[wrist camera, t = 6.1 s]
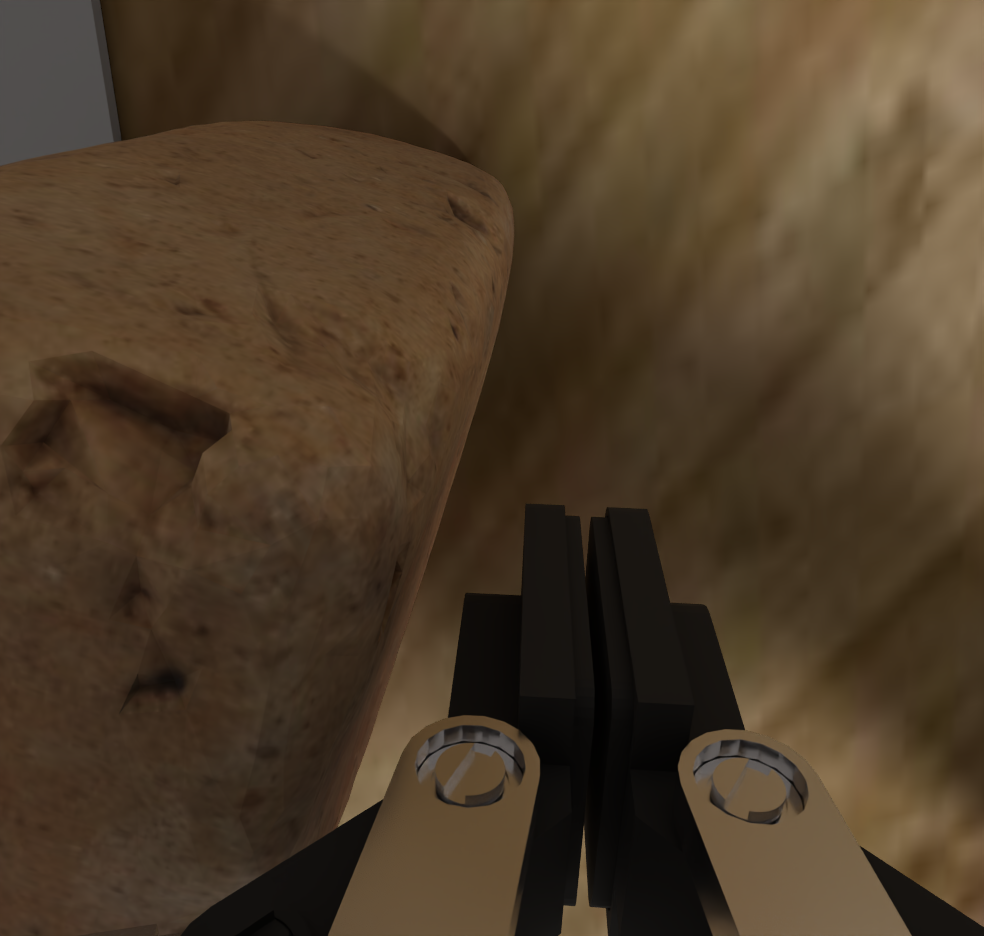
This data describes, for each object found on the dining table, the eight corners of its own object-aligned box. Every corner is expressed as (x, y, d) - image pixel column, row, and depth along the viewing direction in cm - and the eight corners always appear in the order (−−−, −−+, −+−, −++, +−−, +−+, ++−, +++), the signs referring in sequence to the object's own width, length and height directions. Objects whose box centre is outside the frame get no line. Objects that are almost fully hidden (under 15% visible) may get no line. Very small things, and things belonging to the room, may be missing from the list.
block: (286, 84, 24) (-611, 143, 6) (546, 169, 24) (493, 482, 6) (224, 430, 28) (-376, 1077, 10) (443, 496, 29) (239, 1230, 11)
